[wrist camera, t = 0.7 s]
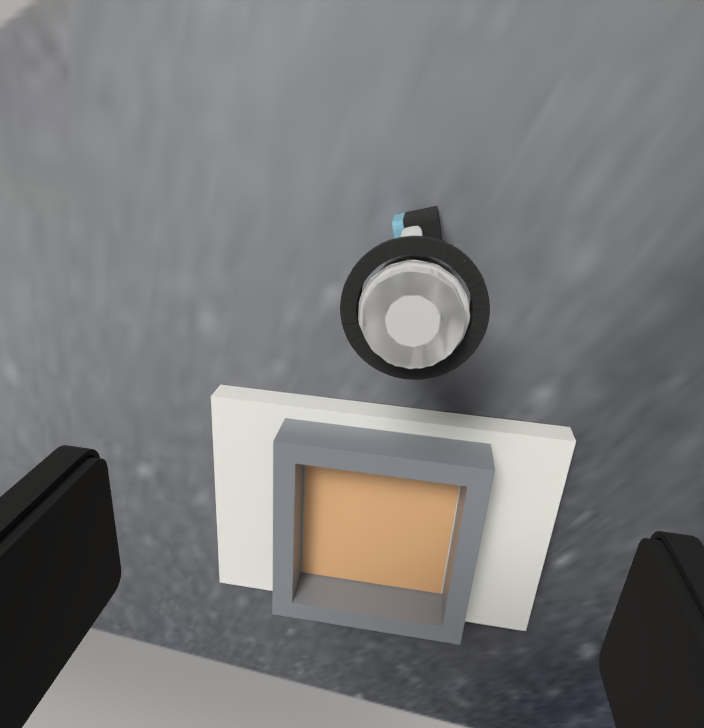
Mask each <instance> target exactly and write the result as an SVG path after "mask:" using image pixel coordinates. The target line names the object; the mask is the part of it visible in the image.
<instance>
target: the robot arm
mask: <svg viewBox="0 0 704 728" xmlns="http://www.w3.org/2000/svg"><path fill="white" fill-rule="evenodd" d="M120 578H121V565H120V557H119V550H118V542H117V535H116V527H115V520H114V512H113V505H112V497H111V490H110V482H109V475H108V467H107V463H106V461H105V460H104V459H100V456H99V454H98V452H97V451H96V450H93V449H88V448H81V447H74V446H67V445H64V446H60V447H59V448H57V449H56V450H54V451H53V452H52V453H51V454H50V455H49V456H48V457H46V458H45V459H44V460H43V461H42V462H41V463H39V464H38V465H37V466H36V467H35V468H34V469H32V470H31V471H30V472H29V473H28V474H27V475H25V476H24V477H23V478H22V479H21V480H20V481H18V482H17V483H16V484H15V485H14V486H13V487H11V488H10V489H9V490H8V491H7V492H6V493H5V494H3V495H2V496H1V497H0V728H22V726H23V725H24V724H25V722H26V721H27V720H28V718H29V716H30V715H31V714H32V712H33V711H34V709H35V708H36V706H37V705H38V703H39V702H40V701H41V699H42V698H43V696H44V695H45V693H46V692H47V690H48V689H49V687H50V686H51V685H52V683H53V682H54V680H55V679H56V677H57V676H58V674H59V673H60V671H61V670H62V668H63V667H64V665H65V664H66V663H67V661H68V660H69V658H70V657H71V655H72V654H73V652H74V651H75V650H76V648H77V647H78V645H79V644H80V642H81V641H82V639H83V638H84V636H85V635H86V633H87V632H88V631H89V629H90V628H91V626H92V625H93V623H94V622H95V620H96V619H97V617H98V616H99V615H100V613H101V612H102V610H103V609H104V607H105V606H106V604H107V603H108V601H109V600H110V598H111V597H112V596H113V594H114V593H115V591H116V589H117V587H118V585H119V582H120ZM599 665H600V673H601V677H602V680H603V684H604V687H605V691H606V694H607V697H608V701H609V704H610V708H611V711H612V715H613V718H614V721H615V725H616V728H704V546H703V544H702V543H701V541H700V540H699V539H698V538H696V537H694V536H690V535H683V534H676V533H669V532H662V531H657V532H655V533H654V534H653V535H652V536H651V538H650V539H648V538H644V539H642V540H641V541H640V543H639V545H638V548H637V551H636V554H635V556H634V559H633V562H632V565H631V567H630V570H629V573H628V576H627V579H626V581H625V584H624V587H623V590H622V592H621V595H620V598H619V601H618V604H617V606H616V609H615V612H614V615H613V617H612V620H611V623H610V626H609V628H608V631H607V634H606V637H605V640H604V642H603V645H602V648H601V651H600V658H599Z"/></svg>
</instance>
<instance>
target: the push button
mask: <svg viewBox="0 0 704 728" xmlns="http://www.w3.org/2000/svg"><path fill="white" fill-rule="evenodd" d="M392 227H393V233H394V238H395V239H392V240H388V241H386V242H384V243H381V244H380V245H378V246H376V247H374V248H373V249H372V250H370V251H369V252H367V253H366V254H365V255H364V256H363V257H362V258H361V259H360V260H359V261H358V262H357V264H356V265H355V266H354V268H353V269H352V271H351V273H350V274H349V276H348V278H347V280H346V282H345V285H344V288H343V291H342V296H341V304H340V314H341V321H342V325H343V329H344V332H345V334H346V337H347V339H348V341H349V343H350V344H351V346H352V347H353V349H354V350H355V351H356V353H357V354H358V355H359V356H360V357H361V358H362V359H363V360H364V361H365V362H367V363H368V364H369V365H370V366H372V367H373V368H375V369H377V370H379V371H381V372H383V373H385V374H387V375H390V376H394V377H397V378H402V379H413V380H419V379H428V378H433V377H437V376H440V375H443V374H445V373H448V372H450V371H451V370H453V369H455V368H457V367H458V366H460V365H461V364H462V363H464V362H465V361H466V360H467V359H468V358H469V357H470V356H471V355H472V354H473V353H474V351H475V350H476V349H477V348H478V346H479V344H480V343H481V341H482V339H483V337H484V335H485V332H486V329H487V326H488V322H489V314H490V304H489V296H488V292H487V288H486V285H485V282H484V279H483V277H482V275H481V273H480V272H479V270H478V268H477V267H476V265H475V264H474V263H473V262H472V260H471V259H470V258H469V257H468V256H467V255H466V254H464V253H463V252H462V251H461V250H459V249H458V248H456V247H454V246H453V245H451V244H449V242H448V243H447V242H445V241H442V238H441V227H440V220H439V214H438V208H437V206H434V207H429V208H425V209H420V210H415V211H410V212H405V213H401V214H396V215H394V218H393V221H392ZM384 262H386V264H385V265H384V266H383V268H382V269H381V270H380V272H379V273H377V274H376V275H375V276H374V277H372V278H371V279H370V281H369V282H368V284H367V285H366V287H365V289H364V291H363V293H362V287H363V283H364V281H365V280H366V278H367V277H368V276H369V275H370V274H371V273H372V271H373V270H375V269H376V268H377V267H378V266H380V265H381V264H383V263H384ZM453 269H454V270H455V271H456V272H457V273H458V274H459V275H460V276H461V277H462V279H463V280H464V282H465V283H466V285H467V287H468V289H469V292H470V298H471V300H470V308H469V302H468V298H467V295H466V293H465V291H464V290H463V288H462V286H461V285H460V283H459V281H458V280H457V278H456V276H455V274H454V272H453ZM361 293H362V295H361Z"/></svg>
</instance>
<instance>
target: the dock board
mask: <svg viewBox="0 0 704 728" xmlns="http://www.w3.org/2000/svg"><path fill="white" fill-rule="evenodd" d="M211 407H212V428H213V449H214V470H215V491H216V512H217V533H218V554H219V575H220V582H221V583H227V584H233V585H240V586H246V587H252V588H258V589H265V590H271V591H273V614H275V615H281V616H287V617H293V618H299V619H306V620H312V621H318V622H324V623H330V624H336V625H342V626H348V627H354V628H360V629H367V630H373V631H379V632H385V633H391V634H397V635H403V636H409V637H415V638H422V639H428V640H434V641H440V642H446V643H452V644H458V645H460V643H461V638H462V633H463V628H464V623H465V621H466V622H472V623H478V624H484V625H491V626H497V627H503V628H509V629H516V630H522V631H526V628H527V625H528V621H529V617H530V613H531V610H532V606H533V602H534V598H535V594H536V591H537V587H538V583H539V579H540V576H541V572H542V568H543V564H544V560H545V557H546V553H547V549H548V545H549V542H550V538H551V534H552V530H553V526H554V523H555V519H556V515H557V511H558V508H559V504H560V500H561V496H562V492H563V489H564V485H565V481H566V477H567V474H568V470H569V466H570V462H571V458H572V455H573V451H574V447H575V443H576V440H575V438H574V436H573V433H572V431H571V429H570V427H565V426H556V425H548V424H540V423H532V422H523V421H515V420H507V419H499V418H490V417H482V416H474V415H466V414H457V413H449V412H441V411H433V410H424V409H416V408H408V407H400V406H391V405H383V404H375V403H367V402H358V401H350V400H342V399H334V398H325V397H317V396H309V395H301V394H292V393H284V392H276V391H268V390H259V389H251V388H243V387H235V386H226V385H220V386H219V387H218V388H217V390H216V391H215V392H214V393H213V394H212V396H211Z"/></svg>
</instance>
